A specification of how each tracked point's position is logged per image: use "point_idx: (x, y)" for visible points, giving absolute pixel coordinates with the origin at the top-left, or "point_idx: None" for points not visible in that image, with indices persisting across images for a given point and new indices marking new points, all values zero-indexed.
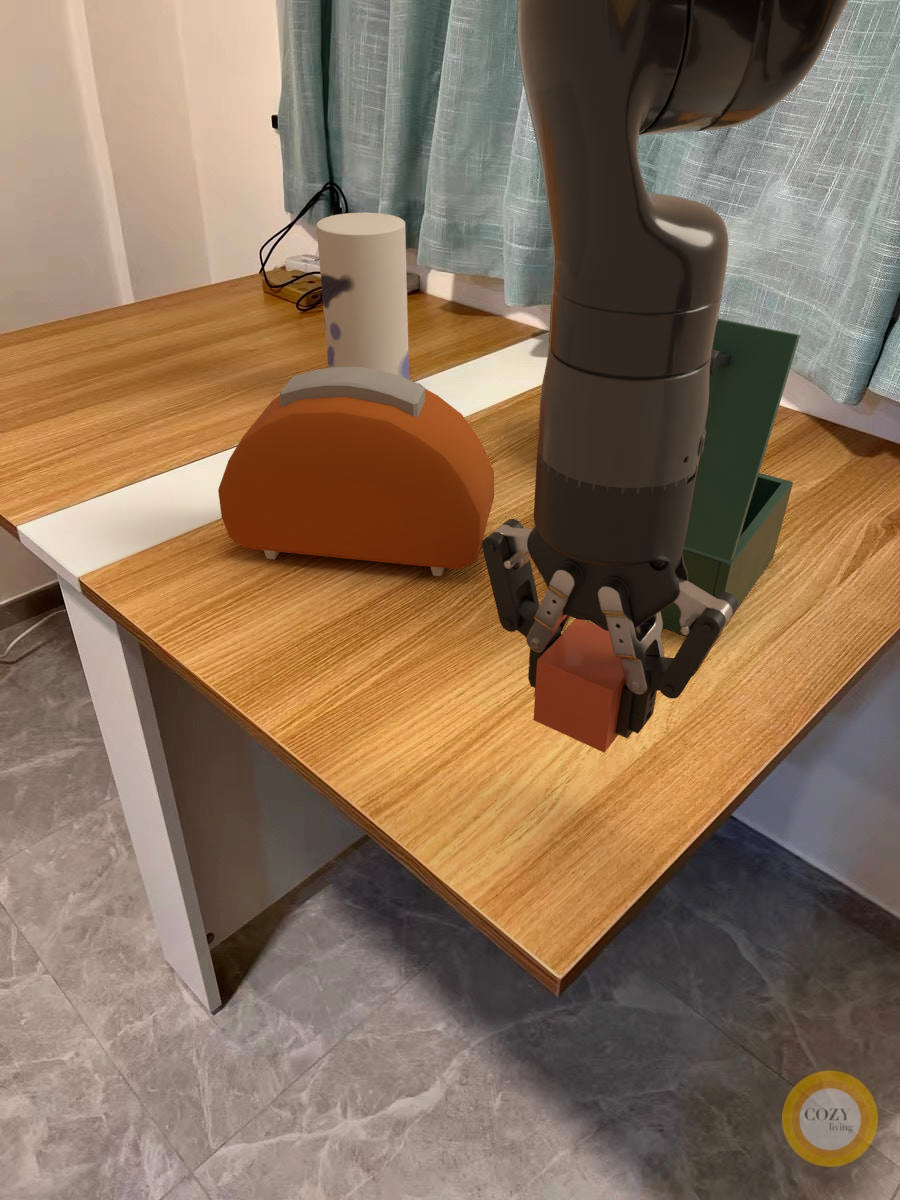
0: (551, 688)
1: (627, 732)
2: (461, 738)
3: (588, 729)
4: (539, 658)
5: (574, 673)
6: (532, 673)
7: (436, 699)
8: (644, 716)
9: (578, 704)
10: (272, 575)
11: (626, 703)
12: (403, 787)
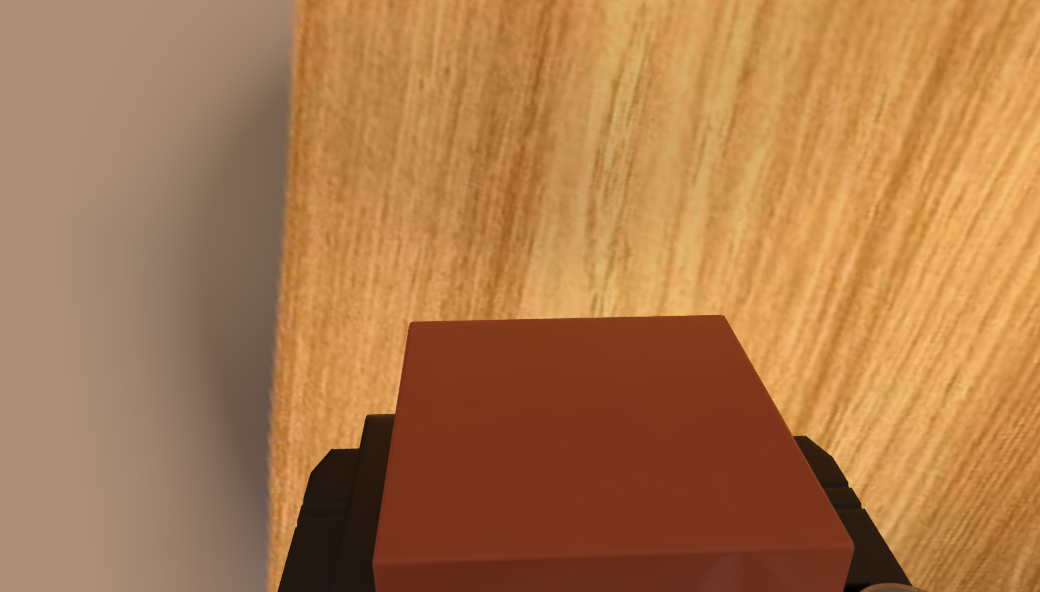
0: (709, 443)
1: (363, 433)
2: (892, 270)
3: (488, 364)
4: (848, 558)
5: (622, 565)
6: (829, 482)
7: (1004, 338)
8: (298, 520)
9: (554, 431)
10: None
11: (363, 538)
12: (972, 44)
